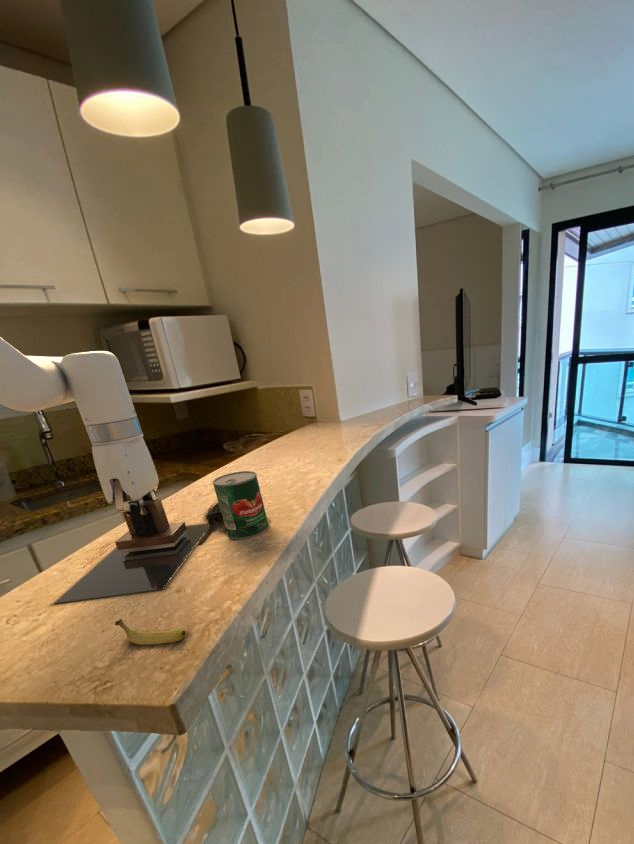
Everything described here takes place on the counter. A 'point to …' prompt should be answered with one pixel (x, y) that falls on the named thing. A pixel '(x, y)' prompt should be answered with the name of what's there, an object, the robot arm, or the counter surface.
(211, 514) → the hairbrush
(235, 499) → the canned tomato
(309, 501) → the counter surface
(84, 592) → the slate board
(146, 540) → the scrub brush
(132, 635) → the banana
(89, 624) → the counter surface
